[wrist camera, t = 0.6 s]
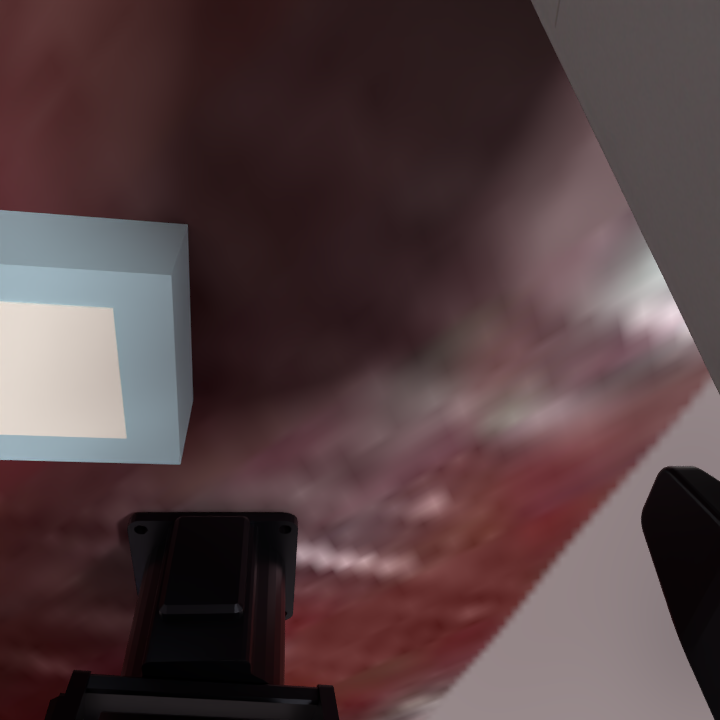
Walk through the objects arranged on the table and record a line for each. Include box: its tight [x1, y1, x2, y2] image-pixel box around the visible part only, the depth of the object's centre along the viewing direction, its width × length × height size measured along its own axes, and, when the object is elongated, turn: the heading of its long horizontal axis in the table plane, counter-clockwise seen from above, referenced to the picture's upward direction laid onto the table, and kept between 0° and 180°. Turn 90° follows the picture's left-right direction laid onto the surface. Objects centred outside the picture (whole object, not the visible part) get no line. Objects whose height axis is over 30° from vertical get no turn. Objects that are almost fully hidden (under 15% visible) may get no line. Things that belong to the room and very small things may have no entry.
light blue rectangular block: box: [0, 210, 193, 465], centre depth 19 cm, size 6×10×4 cm, turn 83°
